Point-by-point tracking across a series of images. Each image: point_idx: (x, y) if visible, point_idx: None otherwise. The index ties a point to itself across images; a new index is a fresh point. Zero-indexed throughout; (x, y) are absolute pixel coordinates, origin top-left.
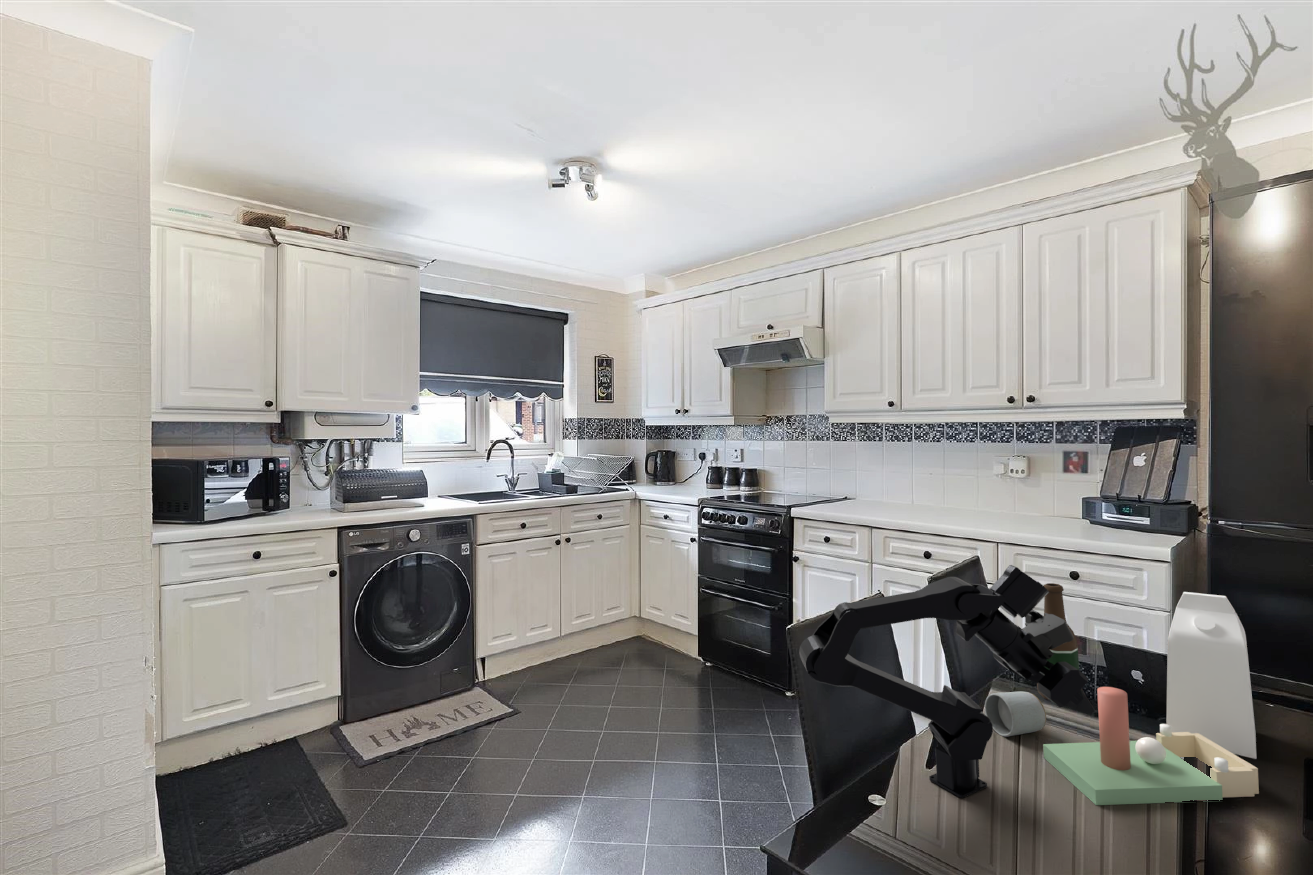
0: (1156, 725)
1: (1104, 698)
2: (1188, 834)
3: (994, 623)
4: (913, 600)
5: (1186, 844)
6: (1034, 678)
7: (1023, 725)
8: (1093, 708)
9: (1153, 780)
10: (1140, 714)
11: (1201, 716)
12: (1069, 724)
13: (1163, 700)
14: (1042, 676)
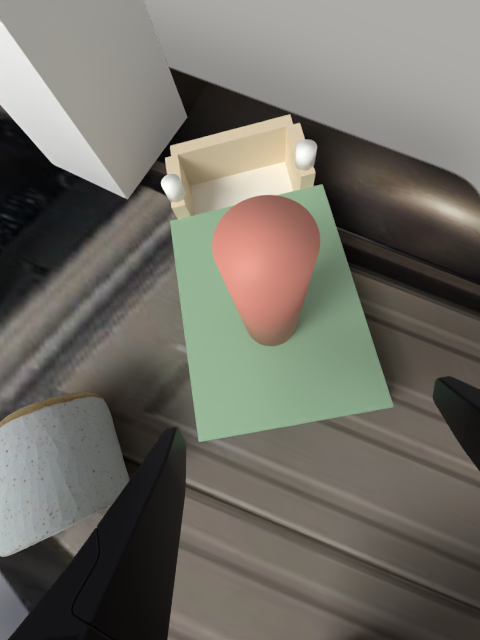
0: (85, 196)
1: (298, 287)
2: (439, 289)
3: None
4: None
5: (474, 305)
6: (162, 596)
7: (120, 461)
8: (468, 385)
9: (327, 280)
10: (47, 203)
11: (127, 116)
12: (73, 331)
13: (5, 156)
14: (157, 545)
